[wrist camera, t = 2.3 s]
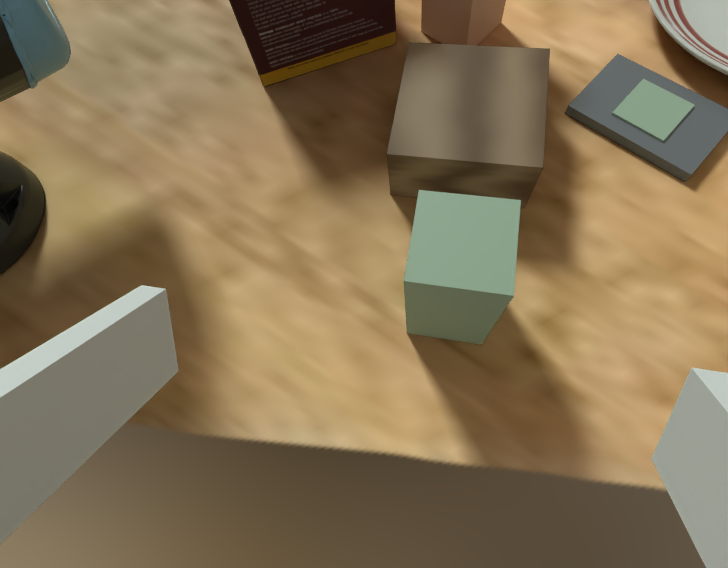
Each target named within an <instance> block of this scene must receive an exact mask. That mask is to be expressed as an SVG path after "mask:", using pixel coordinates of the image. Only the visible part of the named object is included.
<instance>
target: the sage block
mask: <svg viewBox="0 0 728 568" xmlns="http://www.w3.org/2000/svg"><path fill="white" fill-rule="evenodd" d="M520 206H521V200H515V199H505V198H495V197H485V196H475V195H465V194H455V193H445V192H435V191H425V190H419V192H418V198H417V204H416V210H415V216H414V222H413V228H412V234H411V241H410V247H409V253H408V259H407V265H406V271H405V277H404V293H405V310H406V328H407V333H409V334H415V335H422V336H428V337H435V338H441V339H448V340H454V341H461V342H467V343H474V344H480V345H482V343H483V342H484V340H485V339H486V337H487V336H488V334H489V333H490V331H491V330H492V328H493V327H494V325H495V323H496V322H497V320H498V319H499V317H500V316H501V314H502V313H503V311H504V310H505V308H506V307H507V305H508V304H509V302H510V301H511V299H512V298H513V296H514V287H515V273H516V260H517V246H518V233H519V219H520Z"/></svg>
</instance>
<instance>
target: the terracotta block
mask: <svg viewBox="0 0 728 568" xmlns="http://www.w3.org/2000/svg"><path fill="white" fill-rule="evenodd" d="M505 1H506V0H422V19H421V32H423V33H425V34H426V35H428V36H430V37H432V38H433V39H435V40H437V41H439V42H440V43H442V44H456V45H478V44H479V43H480V42H481V41H482V40H483V39H484V38H485V37H486V36H487V35H488V34H490V33H491V32H492V31H493V30H494V29H495V28H496V27H497V26H498V25H499V24H500V23H501V21H502V16H503V11H504V6H505Z"/></svg>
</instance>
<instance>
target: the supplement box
mask: <svg viewBox="0 0 728 568" xmlns="http://www.w3.org/2000/svg"><path fill="white" fill-rule="evenodd" d="M229 1H230V4H231V6H232V9H233V11H234V14H235V16H236V19H237V22H238V24H239V27H240V29H241V31H242V34H243V36H244V38H245V41H246V43H247V46H248V48H249V51H250V53H251V56H252V58H253V61H254V64H255V66H256V69H257V71H258V74H259V77H260V79H261V82H262V85H263V86H267V85H271V84H274V83H277V82H280V81H283V80H286V79H289V78H292V77H295V76H298V75H302V74H305V73H308V72H311V71H314V70H317V69H320V68H323V67H326V66H329V65H332V64H335V63H339V62H342V61H345V60H348V59H351V58H354V57H357V56H360V55H363V54H366V53H369V52H372V51H375V50H379V49H382V48H385V47H388V46H391V45H394V44H395V43H396V20H395V0H229Z"/></svg>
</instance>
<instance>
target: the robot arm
mask: <svg viewBox="0 0 728 568" xmlns="http://www.w3.org/2000/svg"><path fill="white" fill-rule="evenodd" d="M70 54H71V49H70V44H69V41H68V38H67V36H66V34H65V32H64V29H63V27H62V25H61V24H60V22H59V20H58V18H57V16H56V14H55V13H54V11H53V9H52V7H51V6H50V4H49V2H48V0H0V102H1V101H3V100H6V99H8V98H10V97H12V96H14V95H16V94H18V93H20V92H22V91H24V90H27V89H29V88H31V89H33V88H35V87H36V86H37V83H38V82H39V81H41V80H42V79H44V78H46V77H48V76H49V75H51V74H53V73H55V72H57V71H58V70H60V69H62V68H63V67H64V66H65V65H66V64H67V63H68V61H69V58H70ZM43 211H44V193H43V189H42V186H41V183H40V181H39V180H38V178H37V177H36V175H35V174H34V173H33V172H32V171H31V170H29V169H28V168H27V167H25V166H24V165H22V164H21V163H20V162H18V161H17V160H15V159H14V158H12V157H11V156H9V155H7V154H5V153H3V152H1V151H0V274H1V273H2V272H4V271H5V270H6V269H7V268H8V267H10V266H11V265H12V264H13V263H14V262H15V261H16V260H17V259H18V258H19V257H20V256H21V255H22V253H23V252H24V251H25V250H26V248H27V247H28V246H29V244H30V243H31V241H32V240H33V238H34V236H35V234H36V232H37V230H38V228H39V226H40V223H41V220H42V216H43ZM178 371H179V369H178V363H177V356H176V350H175V343H174V337H173V330H172V324H171V317H170V311H169V304H168V297H167V291H166V289H164V288H157V287H151V286H144V285H141V286H139V287H138V288H136V289H134V290H133V291H131V292H129V293H127V294H126V295H124V296H122V297H121V298H119V299H117V300H116V301H114V302H112V303H111V304H109V305H107V306H106V307H104V308H102V309H101V310H99V311H97V312H96V313H94V314H92V315H91V316H89V317H87V318H85V319H84V320H82V321H80V322H79V323H77V324H75V325H74V326H72V327H70V328H69V329H67V330H65V331H64V332H62V333H60V334H59V335H57V336H55V337H54V338H52V339H50V340H48V341H47V342H45V343H43V344H42V345H40V346H38V347H37V348H35V349H33V350H32V351H30V352H28V353H27V354H25V355H23V356H22V357H20V358H18V359H17V360H15V361H13V362H12V363H10V364H8V365H6V366H5V367H3V368H1V369H0V544H1V543H2V542H3V541H4V540H5V539H6V538H7V537H8V536H9V535H11V534H12V532H13V531H15V530H16V529H17V528H18V527H19V526H20V525H21V524H22V523H23V522H24V521H25V520H26V519H27V518H28V517H29V516H30V515H31V514H32V513H33V512H34V511H35V510H36V509H37V508H38V507H39V506H40V505H41V504H42V503H43V502H44V501H46V499H48V498H49V497H50V496H51V495H52V493H54V492H55V491H56V490H57V489H58V488H59V487H60V486H61V485H62V484H63V483H64V482H65V481H66V480H67V479H68V478H69V477H70V476H71V475H72V474H73V473H74V472H75V471H76V470H77V469H79V467H81V466H82V465H83V464H84V462H86V461H87V460H88V459H89V458H90V457H91V456H92V455H93V454H94V453H95V452H96V451H97V450H98V449H99V448H100V447H101V446H102V445H103V444H104V443H105V442H106V441H107V440H108V439H109V438H110V437H111V436H112V435H113V434H114V433H116V431H118V430H119V429H120V428H121V427H122V426H123V425H124V424H125V423H126V422H127V421H128V420H129V419H130V418H131V417H132V416H133V415H134V414H135V413H136V412H137V411H138V410H139V409H140V408H141V407H142V406H143V405H144V404H145V403H146V402H148V401H149V400H150V399H151V398H152V397H153V396H154V395H155V394H156V393H157V392H158V391H159V390H160V389H161V388H162V387H163V386H164V385H165V384H166V383H167V382H168V381H169V380H170V379H171V378H172V377H173V376H174V375H175V374H176V373H177V372H178ZM652 461H653V463H654V465H655V467H656V469H657V471H658V473H659V475H660V477H661V479H662V481H663V483H664V485H665V487H666V489H667V491H668V493H669V495H670V497H671V498H672V501H673V503H674V505H675V507H676V509H677V511H678V513H679V515H680V517H681V519H682V520H683V523H684V525H685V527H686V529H687V530H688V532H689V535H690V536H691V538H692V540H693V542H694V544H695V546H696V548H697V550H698V552H699V554H700V556H701V558H702V560H703V562H704V564H705V566H706V568H728V373H723V372H717V371H710V370H703V369H697V368H691V370H690V372H689V374H688V376H687V379H686V381H685V383H684V386H683V388H682V390H681V392H680V395H679V397H678V399H677V402H676V404H675V406H674V408H673V411H672V413H671V415H670V418H669V420H668V422H667V424H666V427H665V429H664V431H663V433H662V436H661V438H660V440H659V443H658V445H657V447H656V449H655V452H654V454H653V456H652Z"/></svg>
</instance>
